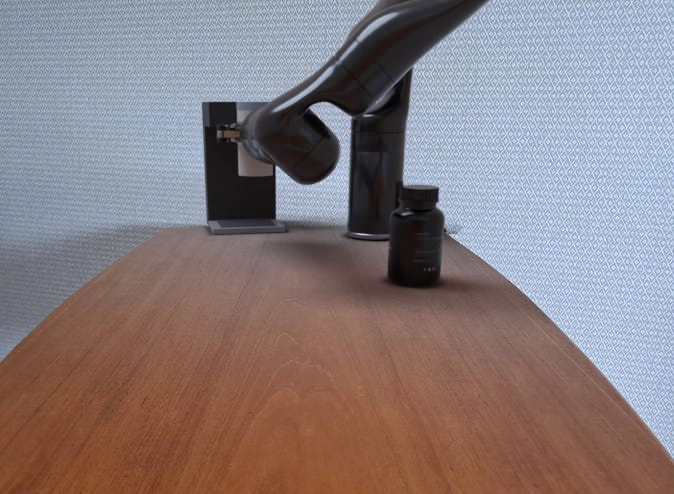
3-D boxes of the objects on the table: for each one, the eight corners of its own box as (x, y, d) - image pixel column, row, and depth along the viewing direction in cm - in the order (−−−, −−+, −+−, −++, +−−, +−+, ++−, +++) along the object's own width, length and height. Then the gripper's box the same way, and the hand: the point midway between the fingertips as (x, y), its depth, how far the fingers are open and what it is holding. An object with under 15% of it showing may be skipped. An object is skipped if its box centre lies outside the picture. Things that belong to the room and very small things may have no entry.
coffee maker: (285, 232, 122) (285, 101, 114) (213, 234, 120) (208, 101, 112) (272, 220, 134) (271, 102, 126) (206, 222, 132) (201, 102, 124)
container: (275, 173, 111) (275, 101, 107) (270, 176, 106) (269, 101, 102) (242, 173, 112) (240, 102, 108) (234, 176, 107) (232, 101, 103)
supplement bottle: (376, 277, 90) (381, 184, 86) (419, 272, 92) (425, 182, 88) (406, 289, 84) (412, 190, 80) (450, 284, 87) (459, 188, 82)
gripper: (220, 164, 93) (208, 156, 109) (321, 162, 96) (295, 155, 112) (218, 106, 91) (206, 107, 106) (322, 106, 94) (296, 107, 109)
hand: (252, 131), depth 109 cm, fingers closed on container, 5 cm apart
